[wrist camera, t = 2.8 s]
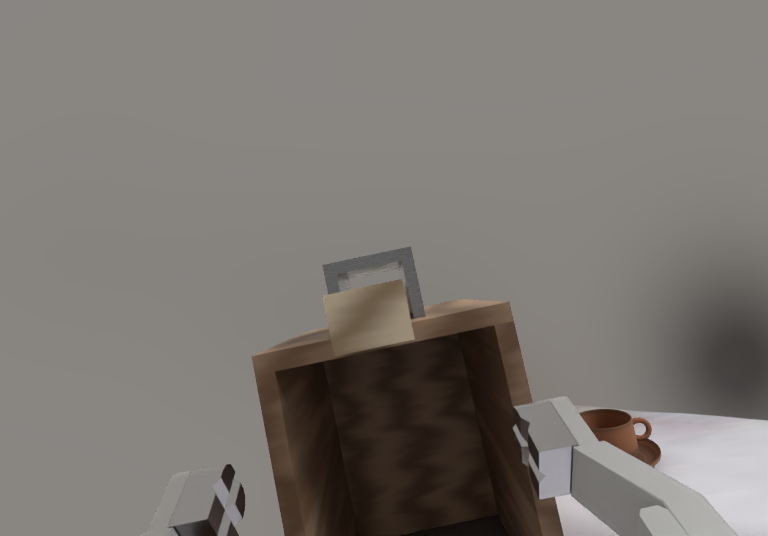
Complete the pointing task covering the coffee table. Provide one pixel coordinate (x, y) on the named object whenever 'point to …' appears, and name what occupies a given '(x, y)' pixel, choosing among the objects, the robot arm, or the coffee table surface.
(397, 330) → the beech bar
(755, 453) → the coffee table surface
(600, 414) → the cup and saucer
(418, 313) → the metal tunnel
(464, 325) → the brown tall wooden box
